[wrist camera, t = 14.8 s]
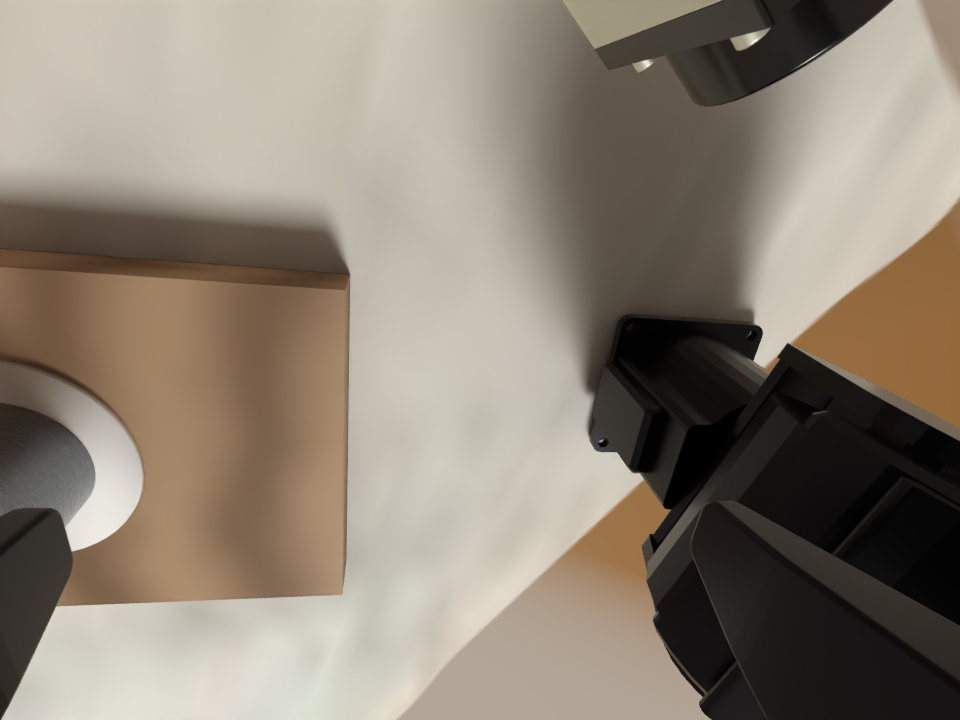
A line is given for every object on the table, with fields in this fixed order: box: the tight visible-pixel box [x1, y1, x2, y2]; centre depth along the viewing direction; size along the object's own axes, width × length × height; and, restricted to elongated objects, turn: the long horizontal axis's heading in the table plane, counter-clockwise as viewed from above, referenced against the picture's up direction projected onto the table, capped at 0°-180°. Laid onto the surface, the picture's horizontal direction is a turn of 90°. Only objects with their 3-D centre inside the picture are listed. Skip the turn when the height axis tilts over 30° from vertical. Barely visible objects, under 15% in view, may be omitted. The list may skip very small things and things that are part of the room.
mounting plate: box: [0, 249, 350, 606], centre depth 19 cm, size 18×14×2 cm
